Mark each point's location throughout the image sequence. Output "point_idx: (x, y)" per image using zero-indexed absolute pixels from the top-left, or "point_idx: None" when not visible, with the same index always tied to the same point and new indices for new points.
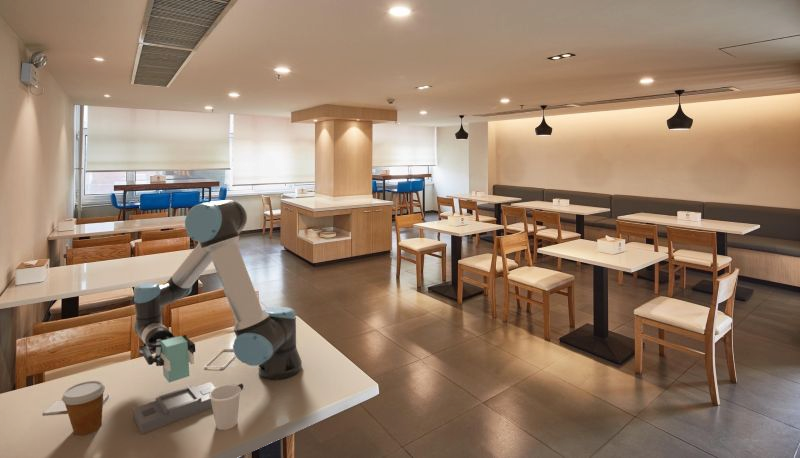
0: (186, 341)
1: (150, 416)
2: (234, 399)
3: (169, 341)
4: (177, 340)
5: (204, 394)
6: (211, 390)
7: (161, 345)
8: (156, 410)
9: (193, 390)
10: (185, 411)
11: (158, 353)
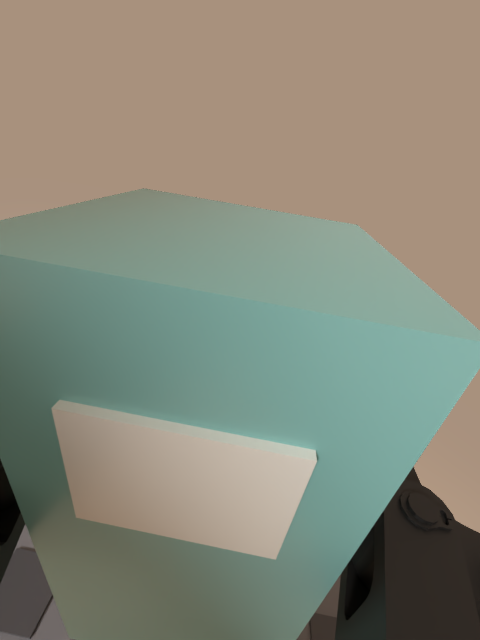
0: (148, 190)
1: (337, 591)
2: None
3: (298, 248)
4: (190, 218)
5: None
6: (11, 563)
7: (419, 439)
8: (304, 632)
9: (66, 638)
10: None
11: (417, 578)
